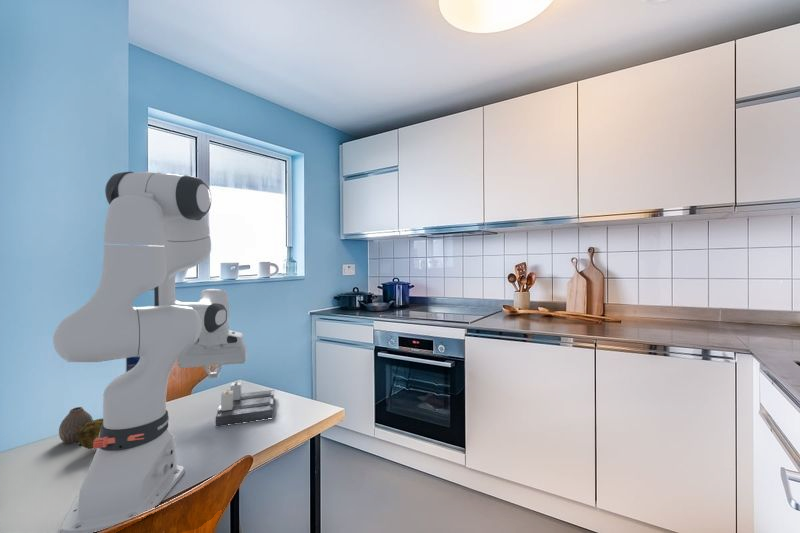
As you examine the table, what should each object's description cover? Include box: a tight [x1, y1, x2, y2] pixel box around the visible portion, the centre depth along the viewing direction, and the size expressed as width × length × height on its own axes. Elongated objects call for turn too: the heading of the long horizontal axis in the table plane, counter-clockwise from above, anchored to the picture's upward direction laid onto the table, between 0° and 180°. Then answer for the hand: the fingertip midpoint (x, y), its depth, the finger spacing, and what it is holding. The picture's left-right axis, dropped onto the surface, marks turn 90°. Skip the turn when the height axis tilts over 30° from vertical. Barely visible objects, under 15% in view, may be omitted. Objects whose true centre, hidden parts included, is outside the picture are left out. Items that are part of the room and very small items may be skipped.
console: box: [215, 389, 275, 427], centre depth 112 cm, size 18×16×4 cm
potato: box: [76, 418, 103, 450], centre depth 90 cm, size 8×13×8 cm, turn 141°
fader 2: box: [230, 381, 242, 400], centre depth 115 cm, size 3×3×5 cm
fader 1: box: [220, 389, 233, 411], centre depth 107 cm, size 3×3×5 cm
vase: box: [58, 406, 94, 445], centre depth 93 cm, size 7×7×9 cm
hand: (213, 378), depth 113 cm, fingers closed
